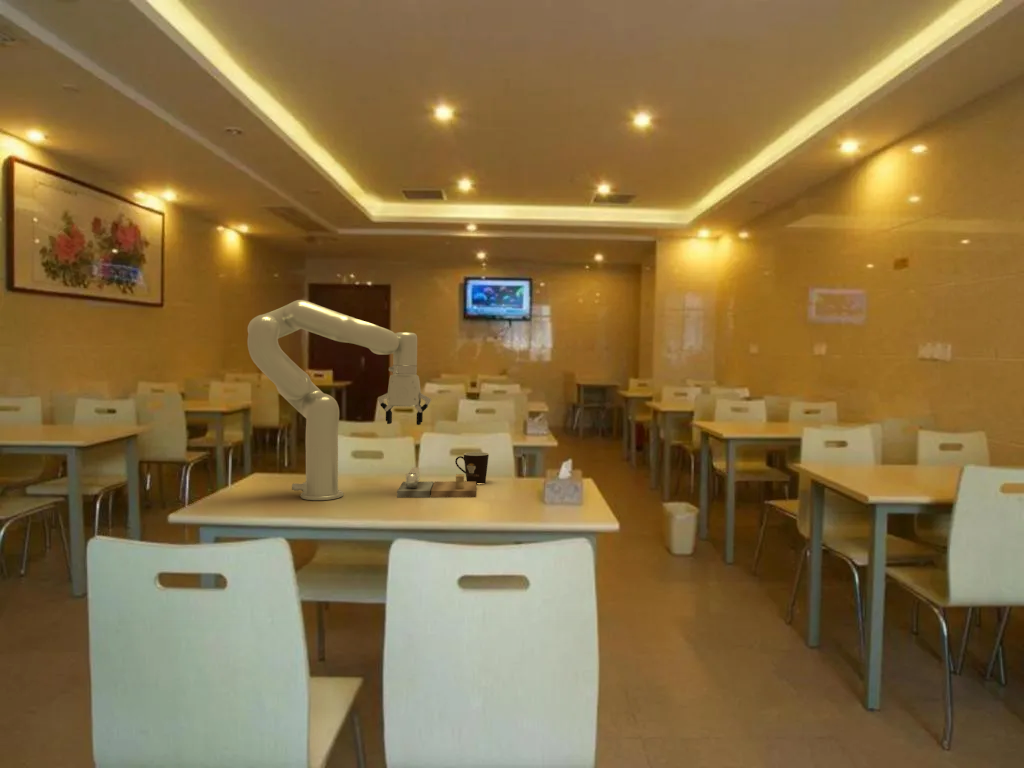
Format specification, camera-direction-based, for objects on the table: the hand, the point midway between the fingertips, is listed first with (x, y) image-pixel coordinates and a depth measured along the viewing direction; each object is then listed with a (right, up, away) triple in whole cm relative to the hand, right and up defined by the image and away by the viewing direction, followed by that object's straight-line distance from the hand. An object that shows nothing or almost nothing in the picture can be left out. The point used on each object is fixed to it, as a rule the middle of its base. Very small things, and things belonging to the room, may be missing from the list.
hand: (404, 424), depth 221 cm
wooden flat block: (+11, -22, -2) cm, 24 cm away
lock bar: (+3, -19, -1) cm, 19 cm away
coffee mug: (+21, -21, +16) cm, 34 cm away
